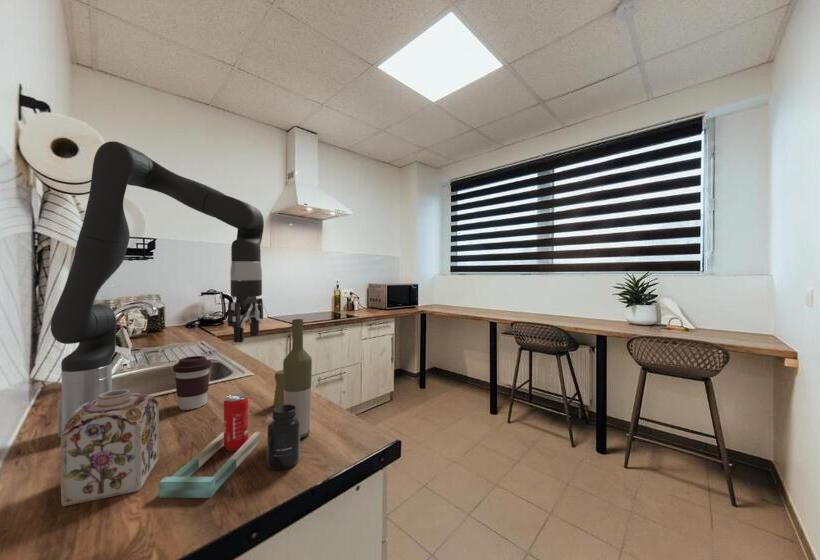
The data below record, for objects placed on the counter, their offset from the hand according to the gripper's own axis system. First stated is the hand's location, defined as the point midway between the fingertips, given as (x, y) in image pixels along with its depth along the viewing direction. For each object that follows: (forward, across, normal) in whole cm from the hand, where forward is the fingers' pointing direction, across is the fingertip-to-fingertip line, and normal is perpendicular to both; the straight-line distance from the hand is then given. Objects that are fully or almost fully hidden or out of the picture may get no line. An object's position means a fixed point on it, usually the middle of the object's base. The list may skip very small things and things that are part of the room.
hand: (247, 338), depth 87 cm
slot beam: (+24, +16, +2) cm, 29 cm away
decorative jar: (+24, +23, -15) cm, 37 cm away
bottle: (+24, +4, +15) cm, 29 cm away
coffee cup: (+24, -14, -24) cm, 37 cm away
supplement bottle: (+24, +16, +16) cm, 33 cm away
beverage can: (+24, +9, +2) cm, 26 cm away
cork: (+24, -15, +4) cm, 29 cm away
